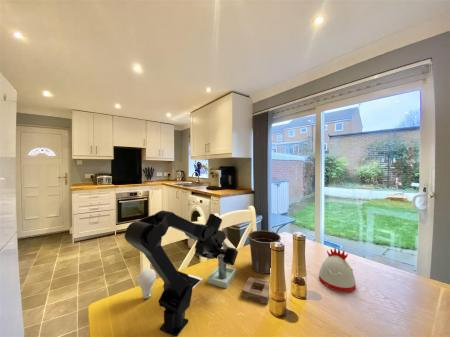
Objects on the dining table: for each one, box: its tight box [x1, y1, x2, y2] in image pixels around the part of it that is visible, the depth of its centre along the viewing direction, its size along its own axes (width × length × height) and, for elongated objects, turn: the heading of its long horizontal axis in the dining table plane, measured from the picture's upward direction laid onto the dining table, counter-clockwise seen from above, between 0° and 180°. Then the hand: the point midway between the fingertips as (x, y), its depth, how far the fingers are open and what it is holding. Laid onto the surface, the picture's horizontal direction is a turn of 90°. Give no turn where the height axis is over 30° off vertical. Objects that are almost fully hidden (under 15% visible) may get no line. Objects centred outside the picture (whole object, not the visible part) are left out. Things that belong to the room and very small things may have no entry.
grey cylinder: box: [217, 248, 227, 279], centre depth 87 cm, size 4×4×12 cm
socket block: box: [241, 276, 270, 305], centre depth 78 cm, size 10×10×2 cm
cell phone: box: [187, 274, 204, 290], centre depth 82 cm, size 8×16×1 cm, turn 152°
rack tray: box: [206, 265, 238, 289], centre depth 88 cm, size 12×9×2 cm
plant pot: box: [247, 230, 282, 275], centre depth 97 cm, size 16×16×16 cm
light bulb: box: [137, 268, 157, 300], centre depth 74 cm, size 7×7×11 cm
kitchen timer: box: [318, 247, 356, 293], centre depth 86 cm, size 14×14×15 cm
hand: (222, 260), depth 87 cm, fingers open, 9 cm apart
